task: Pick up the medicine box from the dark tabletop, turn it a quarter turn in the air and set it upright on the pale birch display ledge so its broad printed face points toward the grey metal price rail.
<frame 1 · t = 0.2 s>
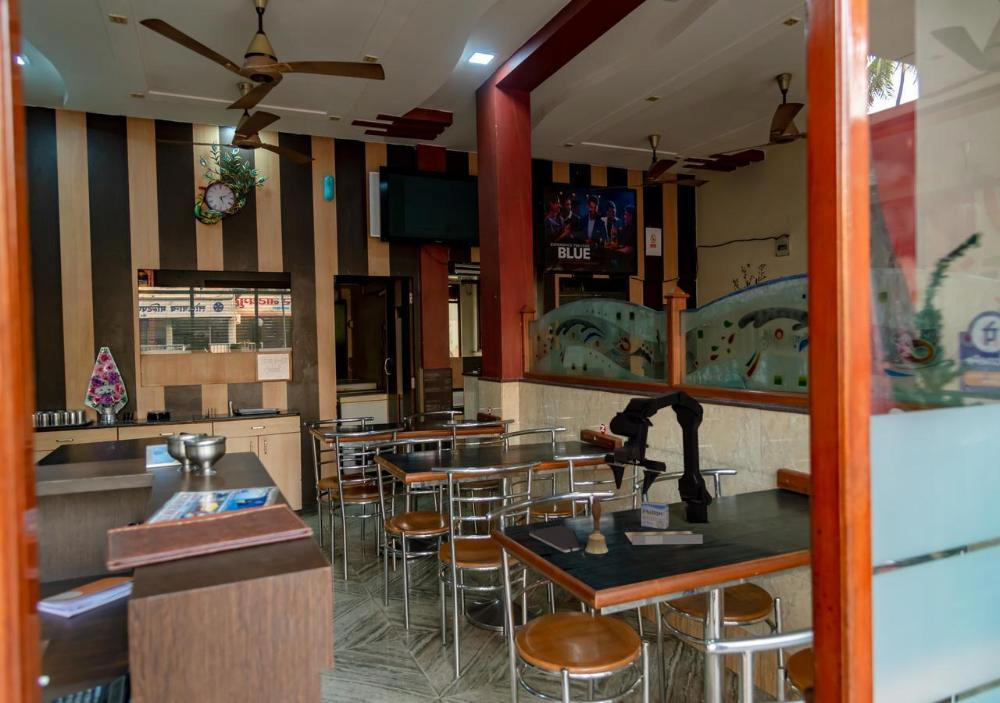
hand: (630, 491, 185), 15 cm above the table, tool pointing down, fingers open, 9 cm apart
notebook: (563, 542, 190), on the table
price rail: (667, 543, 179), resting on display ledge
hand bell: (596, 556, 175), on the table
medicine box: (655, 531, 197), on the table
display ledge: (662, 542, 184), on the table
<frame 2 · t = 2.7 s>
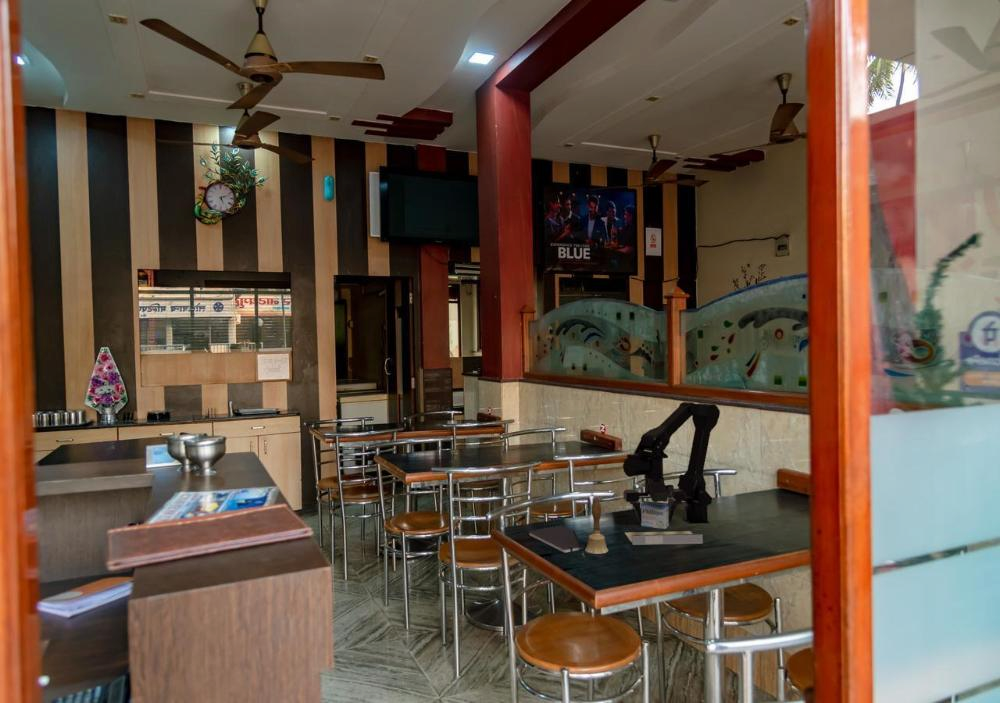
hand: (654, 522, 198), 2 cm above the table, tool pointing down, fingers closed on medicine box, 9 cm apart
medicine box: (655, 530, 197), on the table, touching gripper
everything else where it was.
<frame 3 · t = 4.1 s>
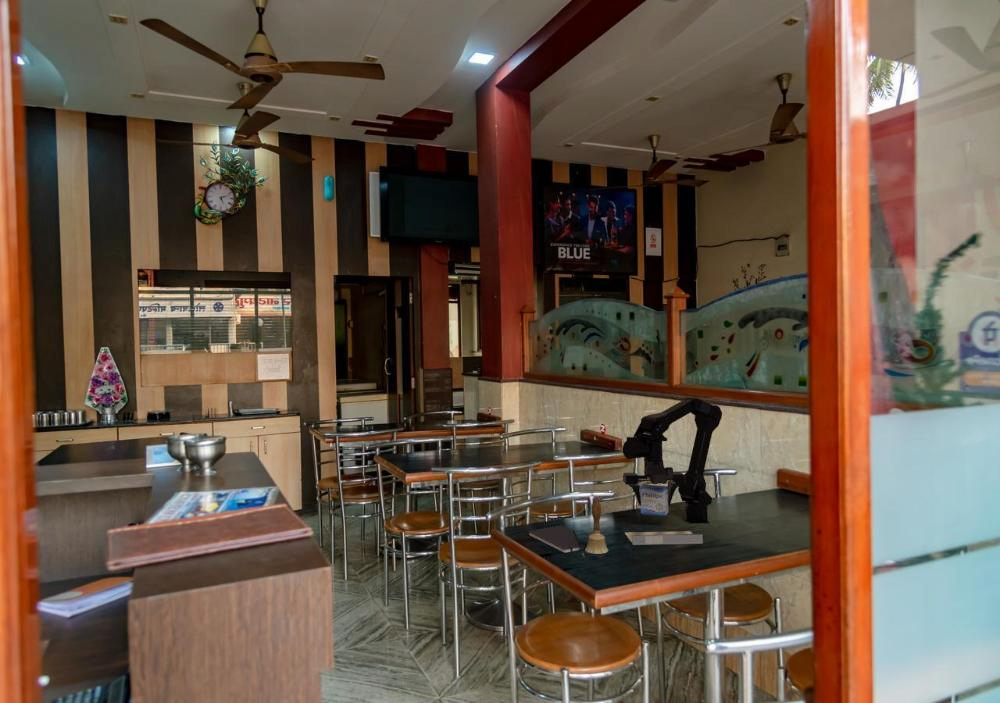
hand: (654, 505, 197), 8 cm above the table, tool pointing down, fingers closed on medicine box, 9 cm apart
medicine box: (654, 514, 197), point 5 cm above the table, touching gripper
everything else where it was.
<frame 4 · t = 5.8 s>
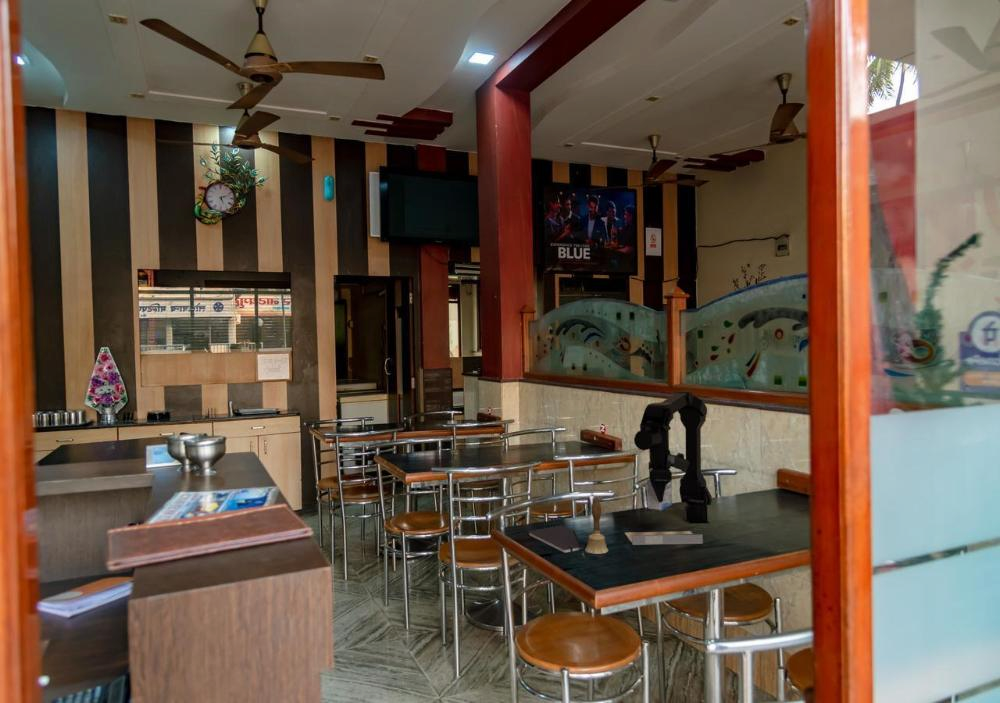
hand: (660, 498, 186), 13 cm above the table, tool pointing down, fingers closed on medicine box, 9 cm apart
medicine box: (660, 507, 186), point 10 cm above the table, touching gripper
everything else where it was.
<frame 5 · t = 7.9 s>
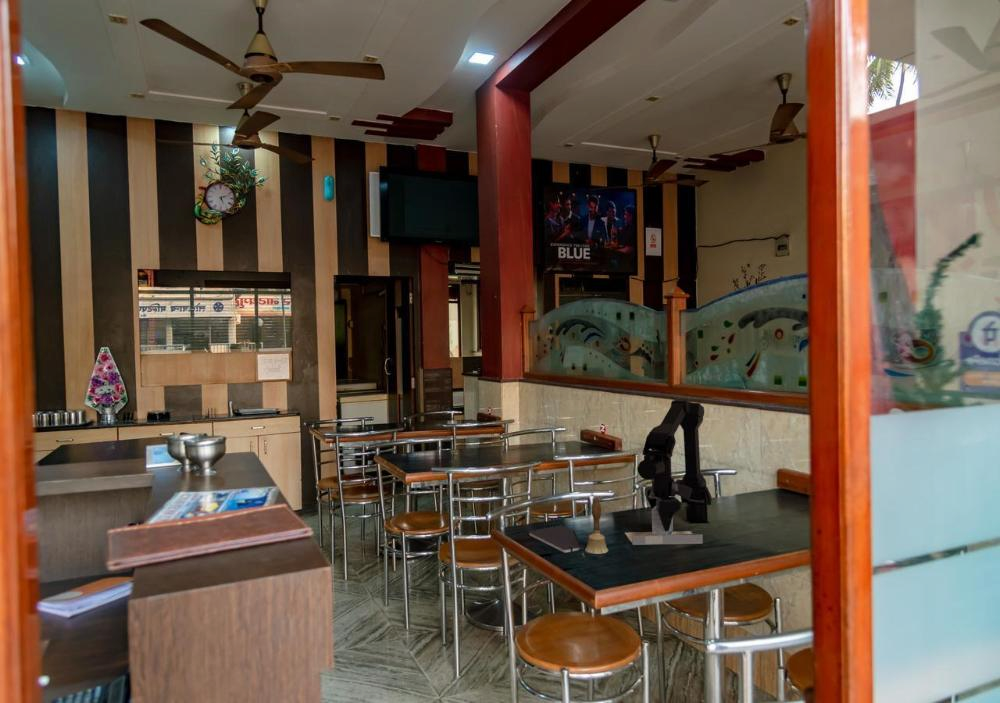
hand: (662, 526, 184), 5 cm above the table, tool pointing down, fingers closed on medicine box, 9 cm apart
medicine box: (662, 535, 184), point 2 cm above the table, touching gripper
everything else where it was.
when the fingers open (5 cm above the table, at t = 8.8 s): medicine box stays where it is, resting on display ledge.
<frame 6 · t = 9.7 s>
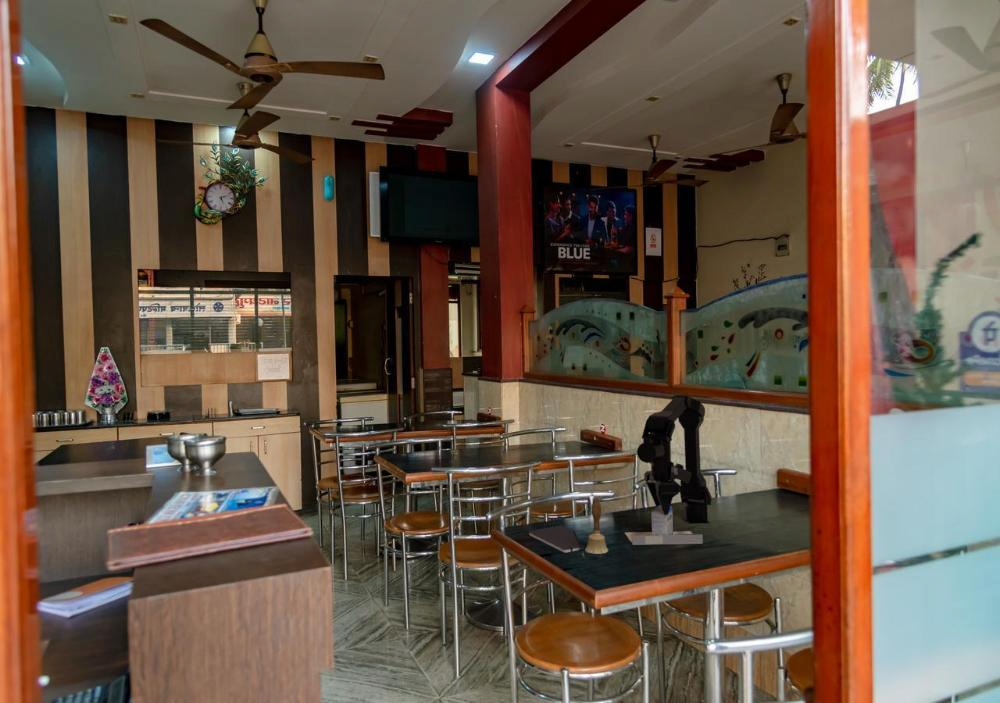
hand: (662, 510, 184), 10 cm above the table, tool pointing down, fingers open, 9 cm apart
medicine box: (662, 538, 184), point 1 cm above the table, touching display ledge, gripper
everything else where it was.
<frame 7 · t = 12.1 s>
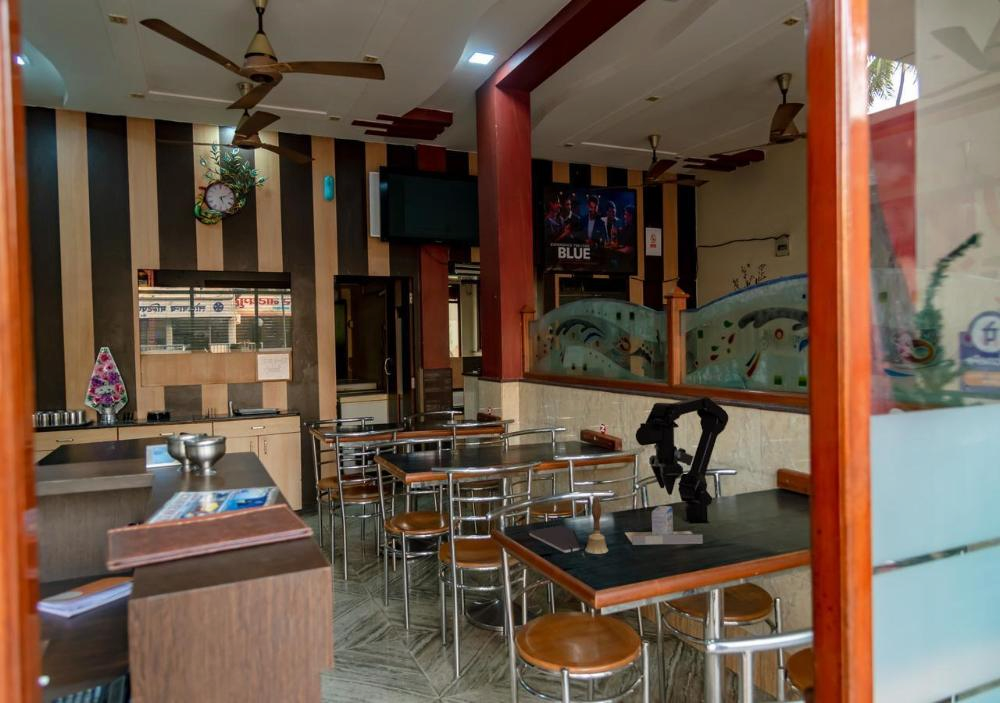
hand: (666, 491, 198), 12 cm above the table, tool pointing down, fingers open, 9 cm apart
medicine box: (662, 538, 184), point 1 cm above the table, touching display ledge
everything else where it was.
at the end: medicine box inside the target area (0.1 cm from its centre), point 1.3 cm above the table; medicine box tilted 0°; the gripper is holding nothing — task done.
